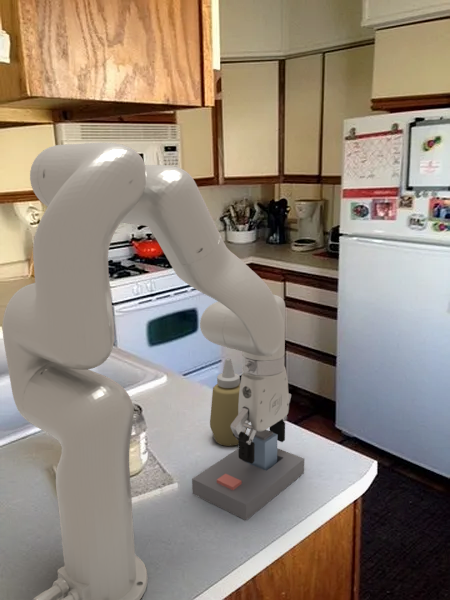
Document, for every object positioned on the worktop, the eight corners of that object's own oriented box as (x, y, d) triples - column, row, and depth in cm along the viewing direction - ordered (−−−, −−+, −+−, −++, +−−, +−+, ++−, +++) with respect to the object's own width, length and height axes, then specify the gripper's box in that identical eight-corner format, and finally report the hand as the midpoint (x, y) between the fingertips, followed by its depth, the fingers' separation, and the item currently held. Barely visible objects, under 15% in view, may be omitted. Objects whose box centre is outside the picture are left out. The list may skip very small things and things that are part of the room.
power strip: (246, 520, 91) (246, 501, 90) (192, 493, 98) (191, 475, 97) (303, 472, 104) (304, 455, 103) (252, 452, 112) (252, 436, 111)
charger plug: (264, 482, 102) (264, 440, 100) (247, 474, 104) (247, 433, 102) (277, 472, 105) (277, 431, 102) (259, 465, 107) (260, 425, 105)
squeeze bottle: (215, 452, 112) (213, 369, 108) (206, 433, 120) (204, 355, 115) (253, 446, 114) (253, 364, 110) (241, 428, 122) (241, 351, 117)
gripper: (250, 383, 90) (250, 477, 94) (306, 354, 103) (304, 438, 107) (215, 372, 95) (216, 462, 99) (273, 346, 107) (272, 426, 112)
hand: (262, 449), depth 103 cm, fingers open, 9 cm apart
